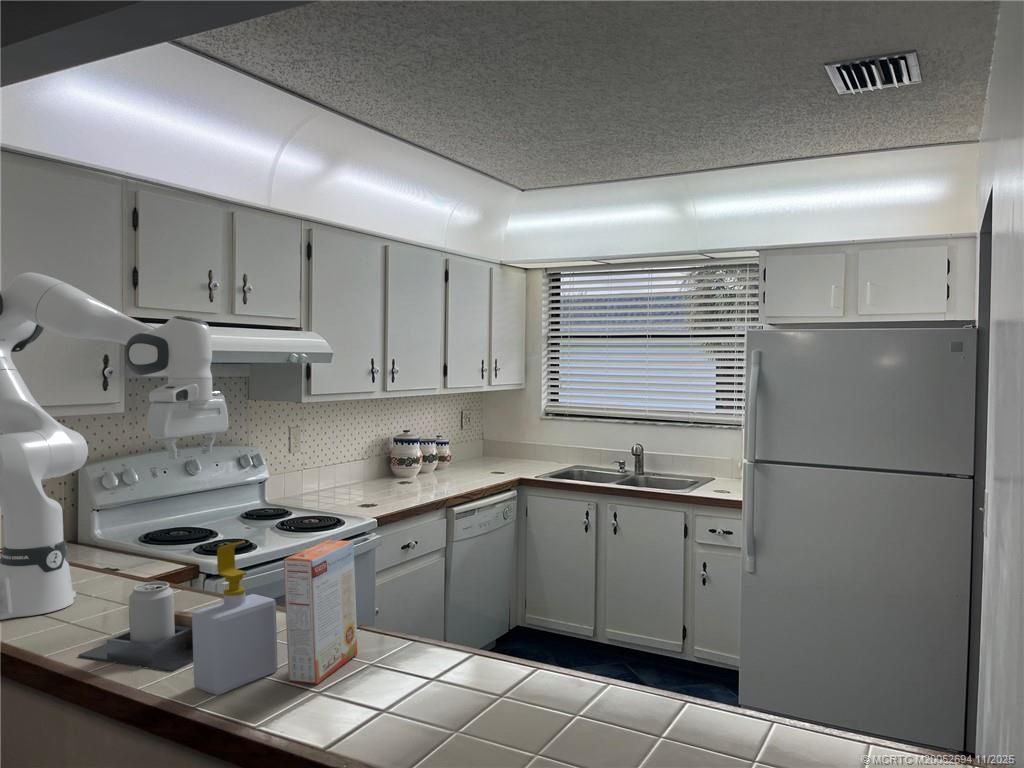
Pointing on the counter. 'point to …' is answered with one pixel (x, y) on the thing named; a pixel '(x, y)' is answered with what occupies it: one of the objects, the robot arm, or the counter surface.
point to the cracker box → (320, 610)
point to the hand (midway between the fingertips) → (190, 456)
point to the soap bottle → (233, 634)
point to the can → (151, 612)
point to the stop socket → (148, 651)
